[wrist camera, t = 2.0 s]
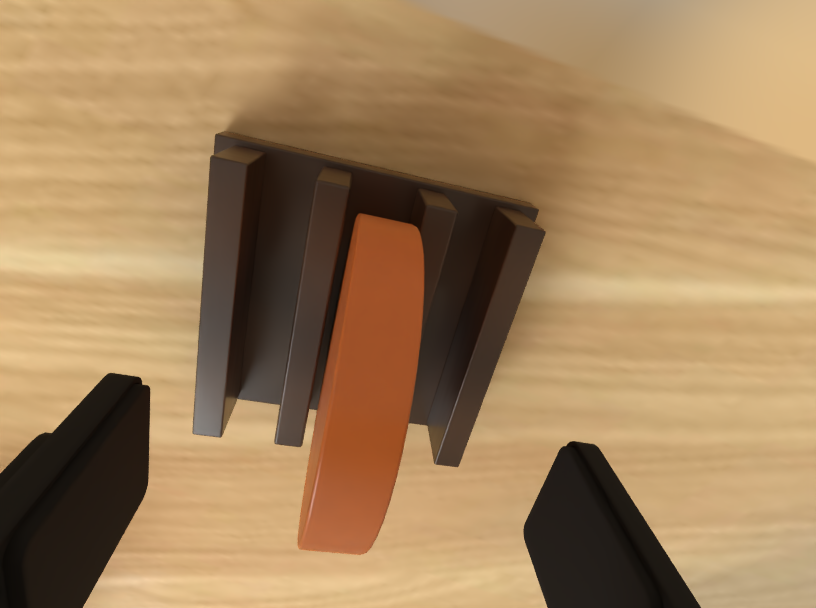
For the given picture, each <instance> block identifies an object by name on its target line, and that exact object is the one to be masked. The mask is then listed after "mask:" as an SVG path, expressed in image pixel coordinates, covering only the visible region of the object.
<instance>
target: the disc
mask: <svg viewBox="0 0 816 608" xmlns="http://www.w3.org/2000/svg"><path fill="white" fill-rule="evenodd" d="M424 272H425V271H424V253H423V244H422V239H421V235H420V232H419V230H418V228H417V227H416V226H414V225H412V224H408V223H404V222H399V221H395V220H390V219H385V218H381V217H376V216H371V215H367V214H362V213H360V214H358V215H357V217H356V220H355V223H354V227H353V231H352V235H351V239H350V243H349V248H348V252H347V257H346V262H345V266H344V271H343V276H342V281H341V286H340V291H339V296H338V301H337V306H336V311H335V316H334V321H333V327H332V332H331V337H330V342H329V348H328V353H327V359H326V364H325V369H324V375H323V380H322V386H321V392H320V397H319V403H318V409H317V414H316V420H315V426H314V432H313V438H312V444H311V450H310V456H309V462H308V468H307V474H306V481H305V487H304V494H303V500H302V507H301V515H300V522H299V530H298V548H299V549H301V550H309V551H321V552H332V553H343V554H355V555H361V554H364V553H367V552H368V550H369V549H370V548H371V547H372V545H373V543H374V541H375V540H376V538H377V536H378V533H379V531H380V528H381V526H382V524H383V521H384V518H385V515H386V512H387V509H388V506H389V503H390V500H391V496H392V493H393V489H394V486H395V482H396V478H397V474H398V470H399V466H400V462H401V457H402V453H403V448H404V443H405V438H406V434H407V429H408V423H409V418H410V412H411V406H412V401H413V394H414V388H415V381H416V374H417V367H418V359H419V350H420V342H421V331H422V320H423V305H424Z"/></svg>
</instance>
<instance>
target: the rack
mask: <svg viewBox="0 0 816 608" xmlns="http://www.w3.org/2000/svg"><path fill="white" fill-rule="evenodd" d="M538 211H539V210H538V209H537V208H536V207H534V206H533V205H532V204H530V203H527V202H523V201H519V200H515V199H510V198H506V197H502V196H498V195H493V194H489V193H485V192H481V191H476V190H472V189H468V188H464V187H459V186H455V185H451V184H447V183H442V182H438V181H434V180H430V179H425V178H421V177H417V176H413V175H408V174H404V173H400V172H396V171H391V170H387V169H383V168H379V167H374V166H370V165H366V164H362V163H357V162H353V161H349V160H345V159H340V158H336V157H332V156H328V155H323V154H319V153H315V152H311V151H306V150H302V149H298V148H294V147H289V146H285V145H281V144H277V143H272V142H268V141H264V140H260V139H255V138H251V137H247V136H243V135H238V134H234V133H230V132H226V131H224V132H221V133H218V134H216V135H215V145H214V155H212V156H211V157H210V171H209V186H208V201H207V217H206V232H205V248H204V263H203V278H202V294H201V309H200V325H199V340H198V355H197V371H196V386H195V402H194V417H193V434H196V435H204V436H212V437H222V435H223V433H224V430H225V428H226V425H227V423H228V421H229V418H230V416H231V413H232V411H233V408H234V406H235V404H236V401H237V399H242V400H250V401H257V402H264V403H271V404H278V405H280V408H279V415H278V421H277V428H276V434H275V440H274V442H275V444H279V445H287V446H295V447H301V446H302V444H303V439H304V433H305V428H306V423H307V417H308V412H309V409H314V410H317V409H318V403H319V397H320V392H321V386H322V380H323V375H324V369H325V364H326V359H327V353H328V348H329V342H330V337H331V332H332V327H333V321H334V316H335V311H336V306H337V301H338V296H339V291H340V286H341V281H342V276H343V271H344V266H345V262H346V257H347V252H348V248H349V243H350V239H351V235H352V231H353V227H354V223H355V220H356V217H357V215H358V214H360V213H362V214H367V215H371V216H376V217H381V218H385V219H390V220H395V221H399V222H404V223H408V224H412V225H414V226H416V227H417V228H418V230H419V232H420V235H421V239H422V244H423V253H424V271H425V272H424V305H423V320H422V331H421V342H420V350H419V359H418V367H417V374H416V381H415V388H414V394H413V401H412V406H411V412H410V418H409V423H413V424H420V425H427V426H428V431H429V437H430V442H431V448H432V453H433V459H434V464H436V465H444V466H452V467H458V466H459V464H460V461H461V459H462V456H463V453H464V450H465V448H466V445H467V442H468V440H469V437H470V434H471V432H472V429H473V426H474V424H475V421H476V418H477V416H478V413H479V410H480V408H481V405H482V402H483V399H484V397H485V394H486V391H487V389H488V386H489V383H490V381H491V378H492V375H493V373H494V370H495V367H496V365H497V362H498V359H499V357H500V354H501V351H502V348H503V346H504V343H505V340H506V338H507V335H508V332H509V330H510V327H511V324H512V322H513V319H514V316H515V314H516V311H517V308H518V305H519V303H520V300H521V297H522V295H523V292H524V289H525V287H526V284H527V281H528V279H529V276H530V273H531V271H532V268H533V265H534V263H535V260H536V257H537V254H538V252H539V249H540V246H541V244H542V241H543V238H544V236H545V231H544V230H543V229H542V228H541V227H539V226H538V225H537V224H536V223H534V222H535V219H536V217H537V214H538Z"/></svg>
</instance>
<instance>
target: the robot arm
mask: <svg viewBox="0 0 816 608" xmlns="http://www.w3.org/2000/svg"><path fill="white" fill-rule="evenodd" d="M149 425H150V387H149V386H147V385H142V380H141V378H139V377H135V376H128V375H122V374H115V373H109V374H107V375H106V376H105V377H104V378H103V379H102V380H101V381H100V382H99V383H98V384H97V385H96V386H95V387H94V389H93V390H92V391H91V392H90V393H89V394H88V395H87V396H86V397H85V398H84V399H83V400H82V402H81V403H80V404H79V405H78V406H77V407H76V408H75V409H74V410H73V411H72V412H71V413H70V414H69V416H68V417H67V418H66V419H65V420H64V421H63V422H62V423H61V424H60V425H59V426H58V427H57V428H56V430H55V431H54V432H53V433H43V434H40V435H38V436H37V437H36V438H35V439H34V440H32V441H31V442H30V443H29V444H28V446H27V447H26V448H25V449H24V450H23V451H22V452H21V453H20V454H19V455H18V456H17V457H16V458H15V459H14V460H13V461H12V462H11V463H10V464H9V465H8V466H7V467H6V468H5V469H4V470H3V471H2V472H1V474H0V608H83V606H84V604H85V602H86V601H87V599H88V597H89V595H90V593H91V592H92V590H93V588H94V586H95V584H96V583H97V581H98V579H99V577H100V575H101V574H102V572H103V570H104V568H105V566H106V565H107V563H108V561H109V559H110V557H111V556H112V554H113V552H114V550H115V548H116V547H117V545H118V543H119V541H120V539H121V538H122V536H123V534H124V532H125V530H126V529H127V527H128V525H129V523H130V521H131V520H132V518H133V516H134V514H135V512H136V511H137V509H138V507H139V505H140V503H141V502H142V500H143V498H144V495H145V493H146V490H147V486H148V473H149ZM524 540H525V543H526V546H527V549H528V552H529V555H530V558H531V560H532V563H533V566H534V569H535V572H536V575H537V578H538V581H539V584H540V587H541V590H542V592H543V595H544V598H545V601H546V604H547V607H548V608H701V607H700V605H699V604H698V602H697V601H696V599H695V597H694V596H693V594H692V593H691V591H690V590H689V588H688V587H687V585H686V583H685V582H684V580H683V579H682V577H681V576H680V574H679V572H678V571H677V569H676V568H675V566H674V565H673V563H672V562H671V560H670V558H669V557H668V555H667V554H666V552H665V551H664V549H663V548H662V546H661V544H660V543H659V541H658V540H657V538H656V537H655V535H654V533H653V532H652V530H651V529H650V527H649V526H648V524H647V523H646V521H645V519H644V518H643V516H642V515H641V513H640V512H639V510H638V508H637V507H636V505H635V504H634V502H633V501H632V499H631V498H630V496H629V494H628V493H627V491H626V490H625V488H624V487H623V485H622V483H621V482H620V480H619V479H618V477H617V476H616V474H615V473H614V471H613V469H612V468H611V466H610V465H609V463H608V462H607V460H606V458H605V457H604V455H603V454H602V452H601V451H600V449H599V448H598V447H597V446H596V445H594V444H588V443H581V442H575V441H572V442H569V443H568V444H567V446H563V447H562V448H561V449H560V450H559V452H558V455H557V457H556V459H555V461H554V463H553V465H552V467H551V469H550V471H549V474H548V476H547V478H546V480H545V482H544V484H543V486H542V488H541V491H540V493H539V495H538V497H537V499H536V501H535V503H534V505H533V507H532V510H531V512H530V514H529V516H528V518H527V520H526V522H525V525H524Z"/></svg>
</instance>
